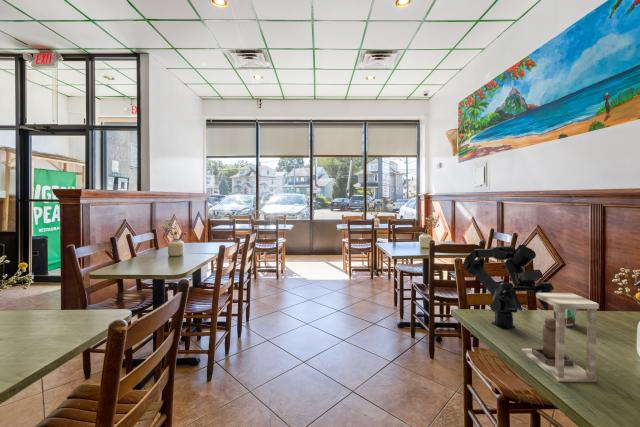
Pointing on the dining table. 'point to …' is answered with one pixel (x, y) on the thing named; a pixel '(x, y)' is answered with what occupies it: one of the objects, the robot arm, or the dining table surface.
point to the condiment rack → (563, 364)
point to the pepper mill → (549, 338)
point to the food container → (568, 316)
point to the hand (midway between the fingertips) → (534, 310)
